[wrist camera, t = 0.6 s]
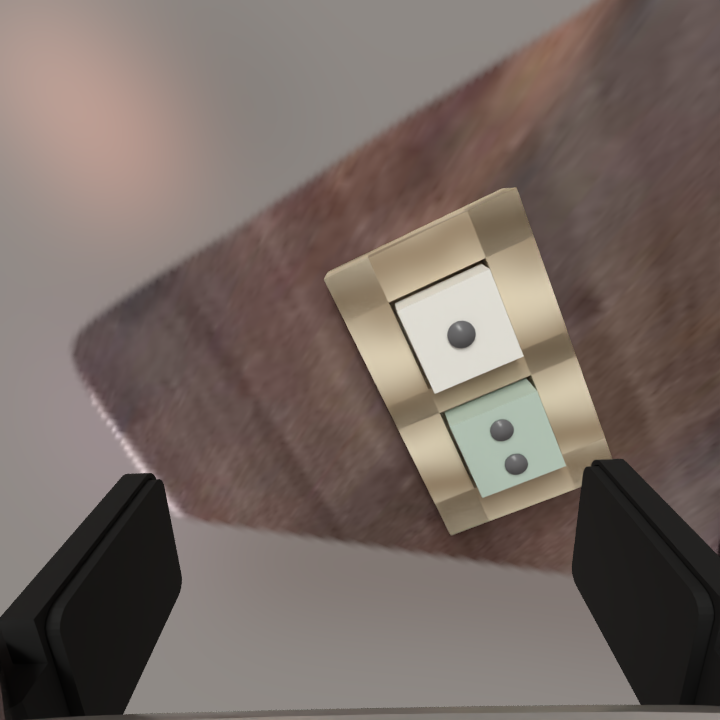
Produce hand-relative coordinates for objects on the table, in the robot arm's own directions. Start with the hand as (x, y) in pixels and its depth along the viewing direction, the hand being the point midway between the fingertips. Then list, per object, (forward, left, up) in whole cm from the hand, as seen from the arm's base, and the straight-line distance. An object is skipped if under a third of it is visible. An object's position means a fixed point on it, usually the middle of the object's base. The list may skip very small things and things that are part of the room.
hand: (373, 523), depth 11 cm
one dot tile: (-3, -5, -20) cm, 21 cm away
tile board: (-7, -5, -23) cm, 24 cm away
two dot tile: (-11, -5, -20) cm, 23 cm away
